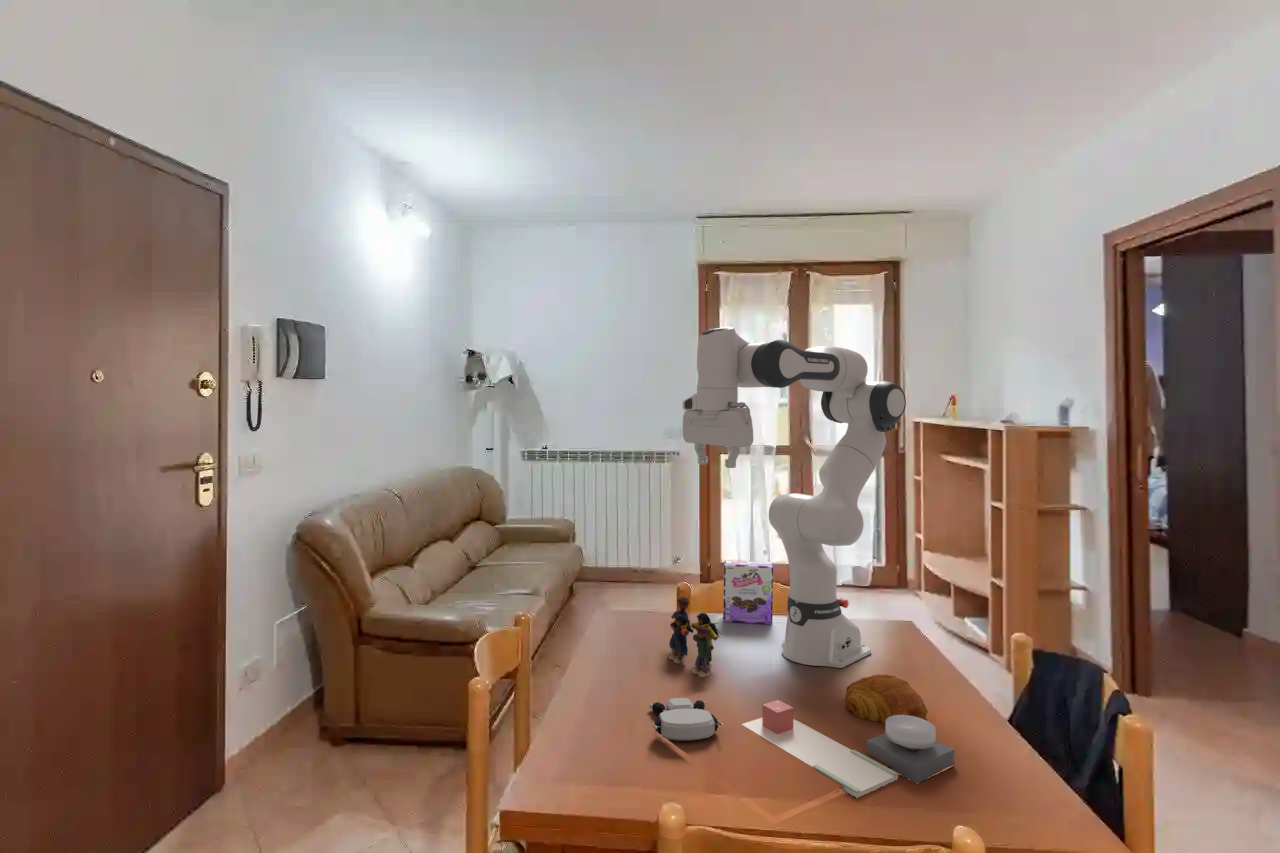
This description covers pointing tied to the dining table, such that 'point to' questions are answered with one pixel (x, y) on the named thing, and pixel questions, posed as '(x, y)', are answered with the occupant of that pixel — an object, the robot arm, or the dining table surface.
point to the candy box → (748, 592)
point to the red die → (777, 716)
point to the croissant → (883, 698)
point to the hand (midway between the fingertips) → (716, 466)
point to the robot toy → (684, 720)
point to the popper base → (911, 758)
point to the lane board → (829, 757)
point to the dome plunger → (910, 732)
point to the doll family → (703, 637)
